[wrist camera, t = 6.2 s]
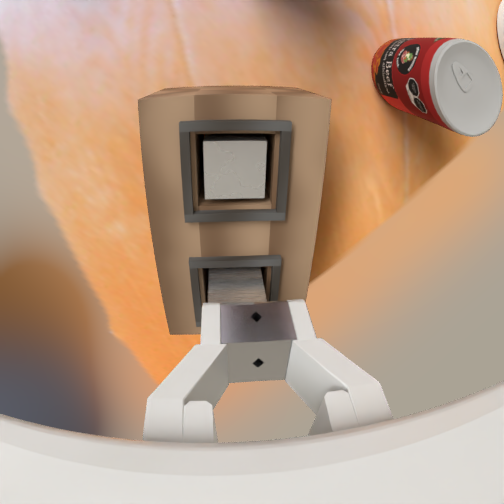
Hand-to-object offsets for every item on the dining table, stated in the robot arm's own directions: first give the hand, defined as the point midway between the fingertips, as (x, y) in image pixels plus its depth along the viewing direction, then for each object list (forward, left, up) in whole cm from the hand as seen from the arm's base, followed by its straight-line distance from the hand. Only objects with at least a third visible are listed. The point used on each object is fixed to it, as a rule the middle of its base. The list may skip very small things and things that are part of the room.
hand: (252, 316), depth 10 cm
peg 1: (0, 0, -22) cm, 22 cm away
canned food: (-17, -8, -23) cm, 30 cm away
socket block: (0, +5, -23) cm, 23 cm away
